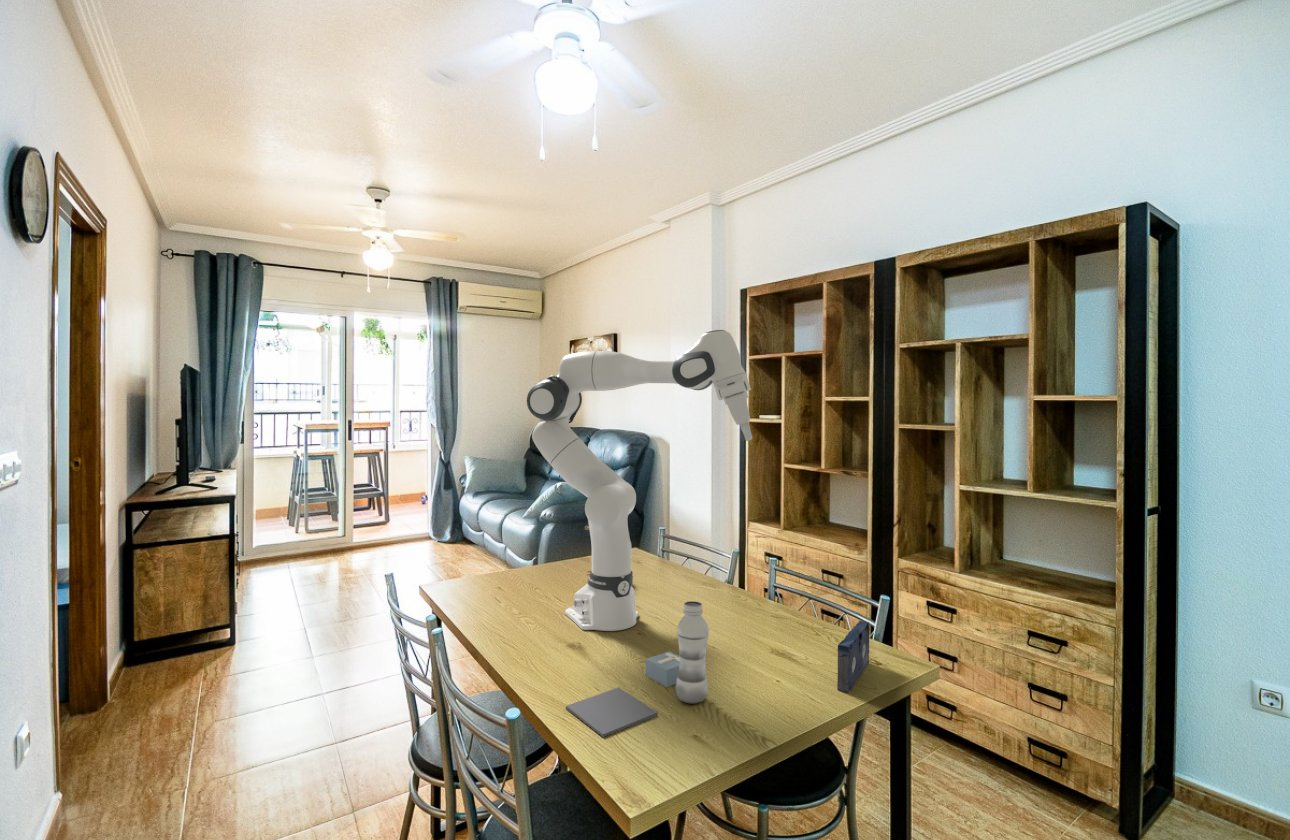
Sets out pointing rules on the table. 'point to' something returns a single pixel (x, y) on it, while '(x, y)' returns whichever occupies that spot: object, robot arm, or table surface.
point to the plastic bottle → (692, 654)
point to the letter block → (663, 668)
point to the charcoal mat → (611, 711)
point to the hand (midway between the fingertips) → (749, 439)
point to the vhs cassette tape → (853, 656)
